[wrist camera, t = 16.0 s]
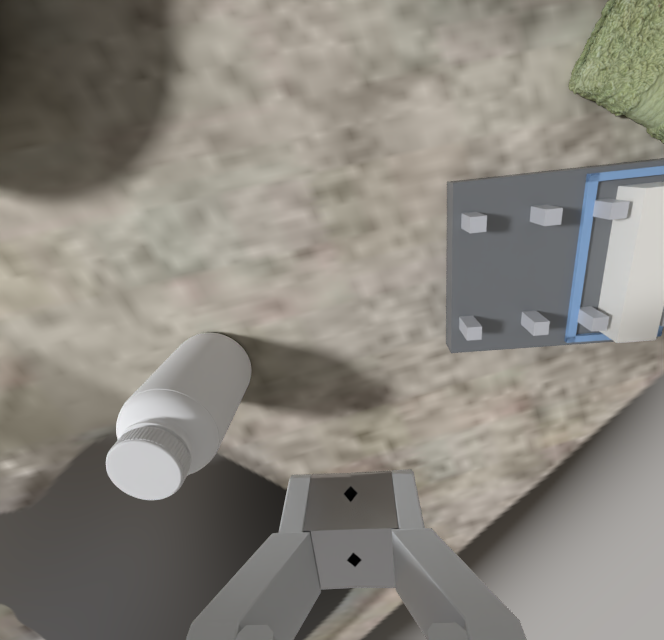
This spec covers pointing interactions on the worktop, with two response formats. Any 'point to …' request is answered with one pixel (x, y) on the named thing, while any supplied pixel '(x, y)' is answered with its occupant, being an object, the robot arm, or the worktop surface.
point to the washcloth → (626, 63)
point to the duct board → (533, 255)
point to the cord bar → (635, 266)
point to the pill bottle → (178, 416)
